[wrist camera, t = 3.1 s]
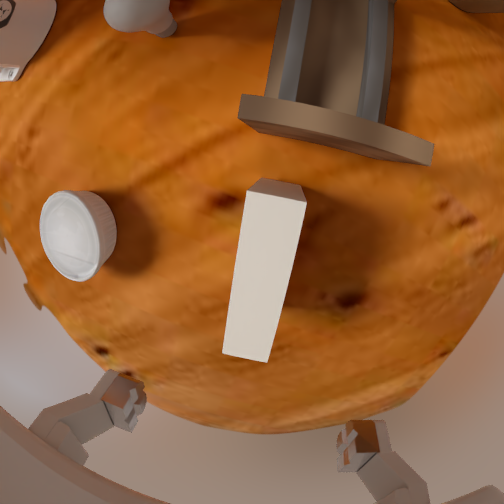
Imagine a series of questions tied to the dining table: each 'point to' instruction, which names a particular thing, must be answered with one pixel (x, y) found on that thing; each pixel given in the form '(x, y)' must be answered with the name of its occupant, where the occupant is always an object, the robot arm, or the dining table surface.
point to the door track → (334, 80)
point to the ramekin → (77, 233)
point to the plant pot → (480, 6)
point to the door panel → (263, 266)
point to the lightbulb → (140, 16)
